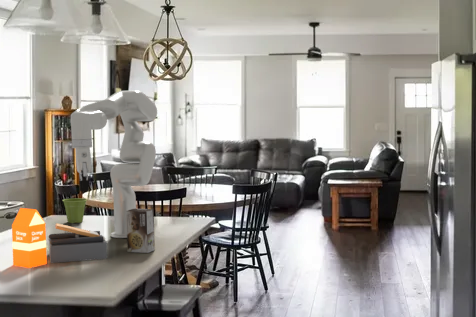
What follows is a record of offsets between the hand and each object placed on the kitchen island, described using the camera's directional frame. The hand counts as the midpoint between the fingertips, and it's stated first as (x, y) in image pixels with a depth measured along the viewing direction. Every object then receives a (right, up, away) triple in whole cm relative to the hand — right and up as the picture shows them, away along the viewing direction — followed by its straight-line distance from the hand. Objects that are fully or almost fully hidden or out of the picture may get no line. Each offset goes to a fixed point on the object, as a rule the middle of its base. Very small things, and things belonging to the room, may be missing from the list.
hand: (84, 190), depth 256 cm
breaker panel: (0, -24, -10) cm, 26 cm away
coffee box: (+22, -23, -2) cm, 32 cm away
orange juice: (-14, -25, -23) cm, 37 cm away
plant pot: (-21, -19, +70) cm, 76 cm away
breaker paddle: (0, -15, -11) cm, 18 cm away
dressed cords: (-1, -18, -11) cm, 21 cm away
